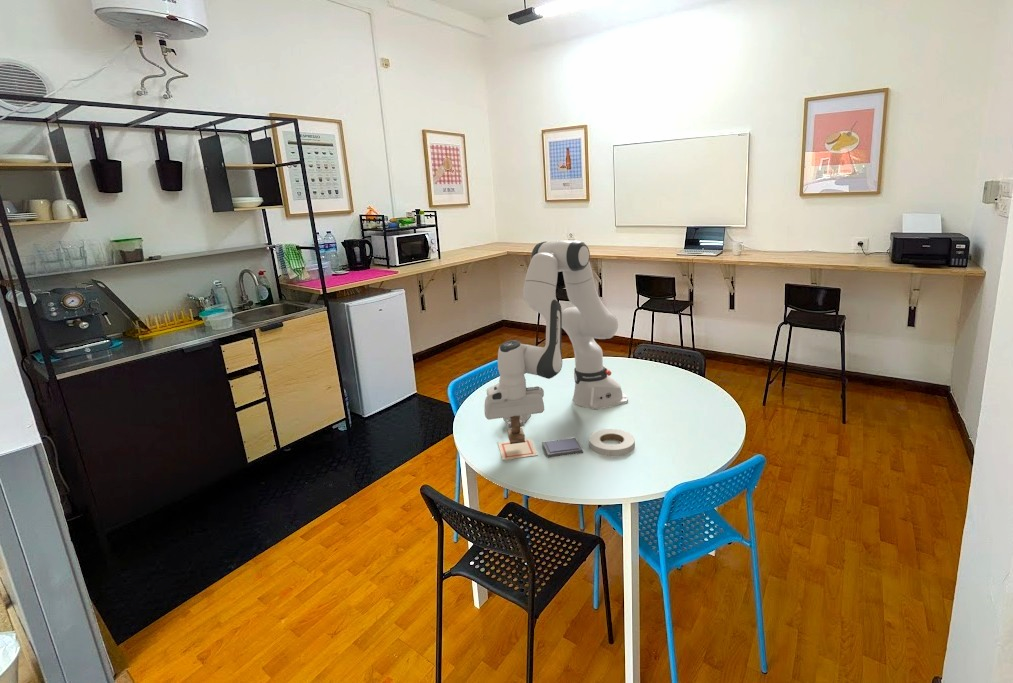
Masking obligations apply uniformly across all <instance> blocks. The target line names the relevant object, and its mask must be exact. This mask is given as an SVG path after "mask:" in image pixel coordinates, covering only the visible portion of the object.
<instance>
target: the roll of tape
mask: <svg viewBox="0 0 1013 683" xmlns="http://www.w3.org/2000/svg"><path fill="white" fill-rule="evenodd" d="M588 441H589V442H588V443H589V445H588V446H589V449H590V450H591V451H592V452H594V453H595V454H598V455H600V456H603V457H609V458H611V457H613V458H616V457H617V458H618V457H623V456H627V455H629V454H631V453H632V452H634V450H635V448H636V438H635V436H634V435H633V434H631V433H630V432H629V431H625V430H622V429H617V428H603V429H600V430H597V431H594V432H592V433H591V434H590V436H589V438H588ZM606 441H616V442H619V443H616V444H609V443H606Z"/></svg>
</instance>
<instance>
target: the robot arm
mask: <svg viewBox="0 0 1013 683" xmlns="http://www.w3.org/2000/svg"><path fill="white" fill-rule="evenodd" d="M590 256H591V253H590V249H589V247H588V246H587V244H586V243H585V242H583V241H581V240H580V241H579V240H570V239H569V240H567V239H566V240H565V239H564V240H563V239H560V240H551V241H541V242H539V243H536V244H535V246H534V247H533V249H532V251H531V259H530V262H529V264H528V267H527V271H526V274H525V277H524V278H525V279H524V283H523V289H522V297H523V300H524V302H525V304H526V305H527V306H528V307H529V308H530V309H532V310H534V311H535V312H537V313H538V314H540V315H541V316H542V317H543V318H544V321H545V326H546V327H545V345H544V346H537V345H531V344H526V343H525V344H524V343H521V341H519V340H507V341H505V342H503V343H501V344H500V345H499V347H498V351H497V369H498V373H499V381H498V383H496V384H494V385H492V386H490V387H488V388H487V389H486V395H487V396H486V397H485V399H484V416H485V418H486V420H488V421H489V420H495V419H503V421H504V423H505V424H506V429H507V430H509V429H511V428H512V425H511V421H508V417H513V416H521V415H522V416H523V418H522V420H520V428H522V427H525V423H526V422H525V420H526V418H527V415H529V414H531V415H535V414H542V413H543V412H545V403H544V396H545V392H544V389H543V387H540V386H531V387H530V386H528V387H527V382H526V380H527V379H526V376H525V374H528V375H529V374H530V375H534V376H538V377H541V378H545V379H548V380H549V379H552V378H554V377H556V375H558V374H559V373H560V372H561V371H562V367H563V355H562V354H563V353H562V330H564V332H565V333H566V334H567V336H568V338H569V340H570V342H571V344H572V348H573V353H574V363H575V367H574V369H573V370H574V372H573V374H574V375H573V378H574V383H575V384H574V391H573V396H572V402H573V404H574V405H576V406H579V407H583V408H587V409H592V410H600V409H605V408H609V407H613V406H618V405H623V404H627V403H629V398H628V395H627V394H626V393H625V392H624V391H623V390H622V387H621V385H620V383H619V382H618V381H617V380H615V379H614V378H612V377H611V375H612V371H611V370H610V369H608V368H607V367H606V366H604V363H603V362H604V360H603V359H604V358H603V354H604V353H603V349H602V347H601V346H600V345H599V344H598V343H597V342H596V340H595V339H598V340H606V339H612V338H613V337H614V336H615V335H616V333H617V330H618V328H619V324H618V323H619V322H618V319H617V317H616V316H615V315H614V314H613V313H612V312H611V311H609V310H608V308H607V307H606V306H605V304H604V303H603V302H602V299H601V298H600V296H599V293H598V291H597V287H596V283H595V278H594V273H593V269H592V265H591V263H590ZM560 272H562V276H563V281H564V287H565V290H566V296H567V298H568V301H569V302H570V303H571V304H572V305H573V306H571V307H566V308H565V309H563V310H562V306H561V303H560V302H559V301H558V299H557V297H556V296H557V293H556V290H557V284H558V277H559V276H558V275H559V273H560ZM526 421H527V420H526ZM524 422H525V423H524Z"/></svg>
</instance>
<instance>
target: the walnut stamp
mask: <svg viewBox="0 0 1013 683" xmlns="http://www.w3.org/2000/svg"><path fill="white" fill-rule="evenodd" d="M510 418H511V421H510V422H511V425H512V428H509V429H507V437H508V442H509V441H510V444H516V443H523V442H525V439H526V438H525V432H524V430H523V428H522V427H520V419H519V418H520V416H513V417H510Z"/></svg>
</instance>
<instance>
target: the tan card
mask: <svg viewBox="0 0 1013 683" xmlns="http://www.w3.org/2000/svg"><path fill="white" fill-rule="evenodd" d="M497 444H498V448H499V452H500V456H501V460H502V461H508V460H514V459H522V458H529V457H536V456H538V455H539V454H538V453H537V449H536V448H535V446H534V443H533V441H532V438H525V442H523V443H516V444H510V441H509V440H508V441H502V442H497Z"/></svg>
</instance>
